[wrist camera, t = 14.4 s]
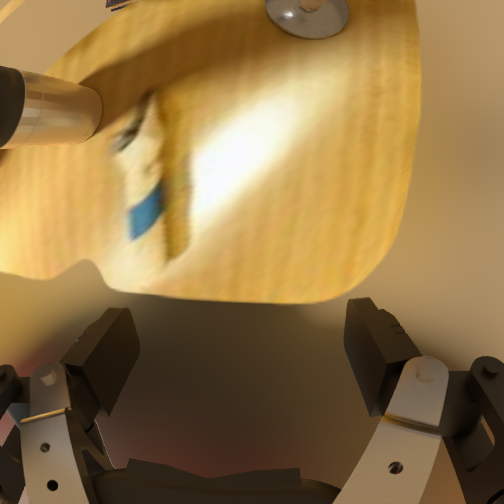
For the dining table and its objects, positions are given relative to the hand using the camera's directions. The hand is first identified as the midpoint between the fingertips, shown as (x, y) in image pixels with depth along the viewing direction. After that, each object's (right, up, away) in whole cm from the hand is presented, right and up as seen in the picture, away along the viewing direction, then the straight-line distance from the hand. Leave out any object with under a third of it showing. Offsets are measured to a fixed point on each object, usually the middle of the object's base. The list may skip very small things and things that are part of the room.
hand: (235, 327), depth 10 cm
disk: (+8, +38, +19) cm, 43 cm away
